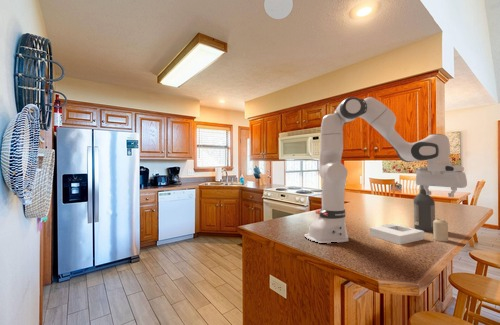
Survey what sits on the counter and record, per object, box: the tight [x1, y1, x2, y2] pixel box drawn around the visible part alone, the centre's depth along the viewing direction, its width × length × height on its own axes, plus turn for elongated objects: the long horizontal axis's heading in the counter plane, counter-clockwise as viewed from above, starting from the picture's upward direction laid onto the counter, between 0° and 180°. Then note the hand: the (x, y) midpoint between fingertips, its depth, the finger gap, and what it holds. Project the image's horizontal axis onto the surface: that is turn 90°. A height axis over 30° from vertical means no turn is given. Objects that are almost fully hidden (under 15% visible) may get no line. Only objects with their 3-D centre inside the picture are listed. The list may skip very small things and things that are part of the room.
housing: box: [369, 223, 425, 246], centre depth 117 cm, size 18×16×4 cm
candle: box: [432, 218, 449, 243], centre depth 112 cm, size 6×6×10 cm
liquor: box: [413, 185, 436, 233], centre depth 129 cm, size 9×9×30 cm
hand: (439, 195), depth 112 cm, fingers open, 8 cm apart
